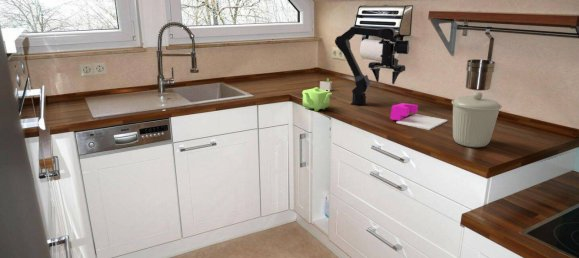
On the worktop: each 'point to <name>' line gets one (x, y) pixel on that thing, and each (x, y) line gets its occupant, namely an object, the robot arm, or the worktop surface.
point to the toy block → (402, 110)
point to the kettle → (316, 99)
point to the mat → (422, 121)
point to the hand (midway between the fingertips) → (385, 83)
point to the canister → (474, 120)
